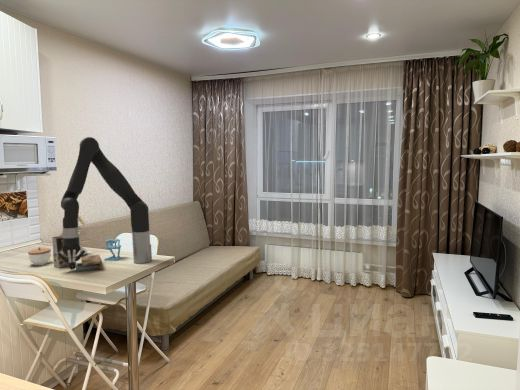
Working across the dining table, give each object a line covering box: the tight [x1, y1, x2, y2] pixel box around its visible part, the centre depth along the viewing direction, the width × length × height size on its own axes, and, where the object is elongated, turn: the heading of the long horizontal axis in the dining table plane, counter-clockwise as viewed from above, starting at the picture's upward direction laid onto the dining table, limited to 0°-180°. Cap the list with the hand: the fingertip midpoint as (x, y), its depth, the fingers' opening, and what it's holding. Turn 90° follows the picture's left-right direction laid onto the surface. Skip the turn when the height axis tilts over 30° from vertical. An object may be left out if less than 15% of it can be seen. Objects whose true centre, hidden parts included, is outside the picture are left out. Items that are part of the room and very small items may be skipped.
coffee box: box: [51, 235, 77, 269], centre depth 198 cm, size 9×6×16 cm
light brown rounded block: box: [80, 254, 103, 271], centre depth 193 cm, size 9×16×5 cm, turn 28°
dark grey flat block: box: [75, 262, 99, 272], centre depth 191 cm, size 10×8×2 cm
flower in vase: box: [75, 214, 88, 257], centre depth 219 cm, size 13×11×25 cm
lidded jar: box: [27, 247, 52, 266], centre depth 202 cm, size 11×11×9 cm
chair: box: [103, 238, 122, 262], centre depth 210 cm, size 8×8×12 cm
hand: (72, 269), depth 188 cm, fingers closed
